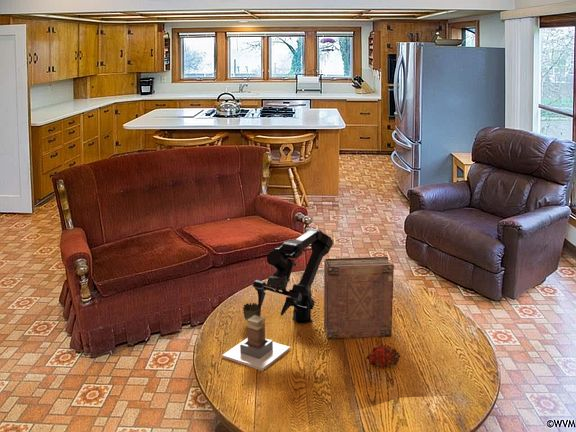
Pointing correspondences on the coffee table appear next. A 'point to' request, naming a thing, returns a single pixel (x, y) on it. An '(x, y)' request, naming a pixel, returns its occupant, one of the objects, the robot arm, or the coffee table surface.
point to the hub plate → (256, 354)
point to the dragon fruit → (383, 356)
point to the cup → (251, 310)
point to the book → (358, 297)
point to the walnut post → (256, 331)
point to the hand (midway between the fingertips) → (270, 312)
